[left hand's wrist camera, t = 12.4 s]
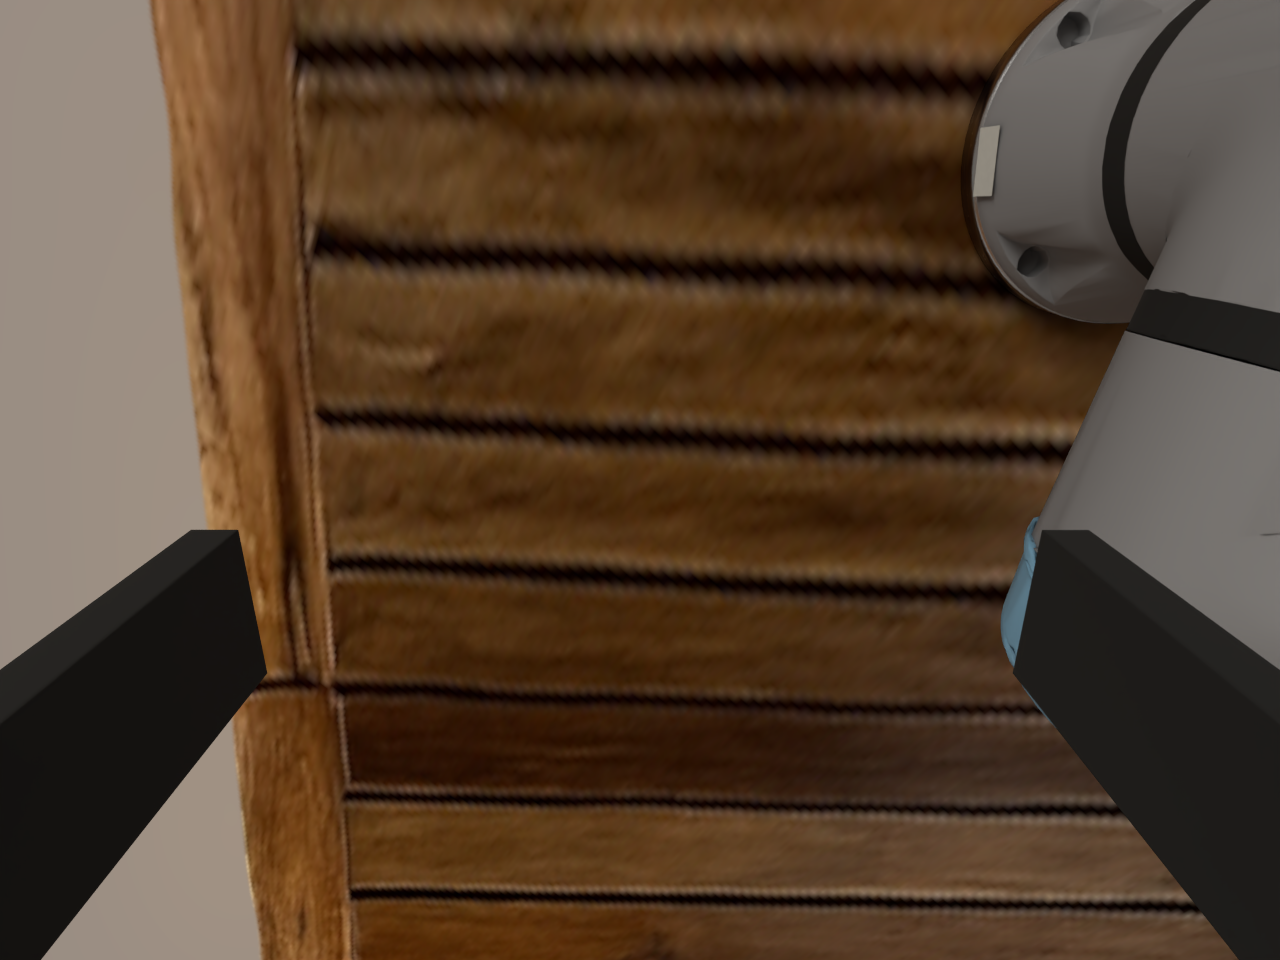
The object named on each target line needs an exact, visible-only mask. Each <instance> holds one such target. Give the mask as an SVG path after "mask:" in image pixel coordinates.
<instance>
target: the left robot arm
mask: <svg viewBox="0 0 1280 960" xmlns="http://www.w3.org/2000/svg"><path fill="white" fill-rule="evenodd" d="M961 195H962V205H963V210H964V216H965V221H966V224H967V227H968V231H969V234H970V237H971V239H972V241H973V244H974V246H975V248H976V250H977V252H978V254H979V256H980V257H981V259H982V261H983V263H984V264H985V265H986V267H987V268H988V270H989V271H990V272H991V274H992V275H993V276H994V277H995V278H996V279H997V280H998V281H999V282H1000V284H1001V285H1003V286H1004V287H1005V288H1006V289H1007V290H1008V291H1010V292H1011V293H1012V294H1013V295H1015V296H1016V297H1018V298H1019V299H1021V300H1022V301H1024V302H1026V303H1028V304H1030V305H1031V306H1033V307H1035V308H1038V309H1040V310H1043V311H1046V312H1048V313H1052V314H1055V315H1059V316H1063V317H1066V318H1070V319H1074V320H1078V321H1084V322H1090V323H1104V324H1112V323H1127V322H1130V323H1129V325H1128V327H1127V329H1126V330H1129V331H1131V332H1129V331H1125V332H1124V334H1123V336H1122V338H1121V341H1120V343H1119V345H1118V347H1117V349H1116V352H1115V354H1114V356H1113V358H1112V360H1111V362H1110V365H1109V367H1108V369H1107V371H1106V373H1105V375H1104V378H1103V380H1102V382H1101V384H1100V386H1099V388H1098V391H1097V393H1096V395H1095V397H1094V399H1093V402H1092V404H1091V406H1090V408H1089V410H1088V412H1087V415H1086V417H1085V419H1084V421H1083V423H1082V425H1081V428H1080V430H1079V432H1078V434H1077V436H1076V438H1075V441H1074V443H1073V445H1072V447H1071V449H1070V451H1069V454H1068V456H1067V458H1066V460H1065V462H1064V465H1063V467H1062V469H1061V471H1060V473H1059V475H1058V478H1057V480H1056V482H1055V484H1054V486H1053V488H1052V491H1051V493H1050V495H1049V497H1048V499H1047V501H1046V504H1045V506H1044V508H1043V510H1042V512H1041V515H1040V516H1039V517H1036V518H1034V519H1033V520H1032V522H1031V523H1030V525H1029V526H1028V528H1027V531H1026V534H1025V538H1024V553H1023V556H1022V558H1021V561H1020V563H1019V566H1018V569H1017V571H1016V574H1015V576H1014V579H1013V582H1012V584H1011V587H1010V589H1009V592H1008V595H1007V597H1006V600H1005V602H1004V605H1003V610H1002V614H1001V635H1002V641H1003V645H1004V647H1005V650H1006V653H1007V655H1008V658H1009V661H1010V663H1011V664H1012V666H1013V667H1014V670H1013V674H1014V675H1015V677H1016V678H1017V679H1018V680H1019V682H1020V683H1021V684H1022V686H1023V688H1024V689H1025V691H1026V692H1027V694H1028V695H1029V696H1030V698H1031V699H1032V701H1033V702H1034V703H1035V704H1036V706H1037V707H1038V708H1039V709H1040V711H1041V712H1042V713H1043V714H1044V715H1045V716H1046V718H1047V719H1048V720H1049V721H1050V722H1051V723H1052V724H1053V725H1054V726H1055V728H1056V729H1057V730H1058V731H1059V732H1060V734H1061V735H1062V736H1063V737H1064V739H1065V740H1066V741H1067V742H1068V744H1069V745H1070V746H1071V747H1072V749H1073V750H1074V751H1075V753H1076V754H1077V755H1078V756H1079V758H1080V759H1081V760H1082V761H1083V763H1084V764H1085V765H1086V766H1087V768H1088V769H1089V770H1090V772H1091V773H1092V774H1093V775H1094V777H1095V778H1096V779H1097V780H1098V782H1099V783H1100V784H1101V785H1102V787H1103V788H1104V789H1105V791H1106V792H1107V793H1108V794H1109V796H1110V797H1111V798H1112V799H1113V801H1114V802H1115V803H1116V804H1117V806H1118V807H1119V808H1120V810H1121V811H1122V812H1123V813H1124V815H1125V816H1126V817H1127V818H1128V820H1129V821H1130V822H1131V823H1132V825H1133V826H1134V827H1135V828H1136V830H1137V831H1138V832H1139V834H1140V835H1141V836H1142V837H1143V839H1144V840H1145V841H1146V842H1147V844H1148V845H1149V846H1150V847H1151V849H1152V850H1153V851H1154V853H1155V854H1156V855H1157V856H1158V858H1159V859H1160V860H1161V861H1162V863H1163V864H1164V865H1165V866H1166V868H1167V869H1168V870H1169V872H1170V873H1171V874H1172V875H1173V877H1174V878H1175V879H1176V880H1177V882H1178V883H1179V884H1180V885H1181V887H1182V888H1183V889H1184V891H1185V892H1186V893H1187V894H1188V896H1189V897H1190V898H1191V899H1192V901H1193V902H1194V903H1195V904H1196V906H1197V907H1198V908H1199V910H1200V911H1201V912H1202V913H1203V915H1204V916H1205V917H1206V918H1207V920H1208V921H1209V922H1210V923H1211V925H1212V926H1213V927H1214V929H1215V930H1216V931H1217V932H1218V934H1219V935H1220V936H1221V937H1222V939H1223V940H1224V941H1225V942H1226V944H1227V945H1228V946H1229V948H1230V949H1231V950H1232V951H1233V953H1234V954H1235V955H1236V956H1237V958H1238V959H1239V960H1280V0H1059V1H1057V2H1056V3H1055V4H1053V5H1052V6H1051V7H1049V8H1048V9H1047V10H1045V11H1044V12H1043V13H1042V14H1041V15H1040V16H1039V17H1038V18H1036V19H1035V20H1034V21H1033V22H1032V23H1031V24H1030V25H1029V26H1028V27H1027V28H1026V29H1025V30H1024V31H1023V32H1022V33H1021V34H1020V35H1019V37H1018V38H1017V39H1016V40H1015V41H1014V43H1013V44H1012V45H1011V46H1010V48H1009V49H1008V50H1007V51H1006V53H1005V54H1004V55H1003V57H1002V58H1001V60H1000V61H999V63H998V64H997V66H996V67H995V69H994V70H993V72H992V74H991V76H990V77H989V79H988V81H987V83H986V84H985V86H984V89H983V91H982V93H981V95H980V97H979V99H978V101H977V104H976V107H975V109H974V112H973V115H972V118H971V120H970V124H969V128H968V131H967V135H966V139H965V144H964V150H963V155H962V166H961ZM1170 341H1171V342H1170ZM1174 342H1175V343H1174ZM1178 343H1179V344H1178ZM1182 344H1183V345H1182ZM1186 345H1187V346H1186ZM266 674H267V670H266V665H265V660H264V655H263V650H262V645H261V640H260V635H259V630H258V625H257V621H256V616H255V611H254V606H253V601H252V596H251V591H250V586H249V581H248V576H247V571H246V566H245V561H244V557H243V552H242V547H241V542H240V537H239V532H238V530H190V531H189V532H188V533H186V534H185V535H184V536H182V537H181V538H179V539H178V540H177V541H175V542H174V543H173V544H171V545H170V546H169V547H167V548H166V549H164V550H163V551H162V552H160V553H159V554H158V555H156V556H155V557H154V558H152V559H151V560H149V561H148V562H147V563H145V564H144V565H143V566H141V567H140V568H138V569H137V570H136V571H134V572H133V573H132V574H130V575H129V576H128V577H126V578H125V579H124V580H122V581H121V582H119V583H118V584H117V585H115V586H114V587H113V588H111V589H110V590H109V591H107V592H106V593H104V594H103V595H102V596H100V597H99V598H98V599H96V600H95V601H93V602H92V603H91V604H89V605H88V606H87V607H85V608H84V609H83V610H81V611H80V612H78V613H77V614H76V615H74V616H73V617H72V618H70V619H69V620H68V621H66V622H65V623H63V624H62V625H61V626H59V627H58V628H57V629H55V630H54V631H53V632H51V633H50V634H48V635H47V636H46V637H44V638H43V639H42V640H40V641H39V642H38V643H36V644H35V645H33V646H32V647H31V648H29V649H28V650H27V651H25V652H24V653H22V654H21V655H20V656H18V657H17V658H16V659H14V660H13V661H12V662H10V663H9V664H8V665H6V666H5V667H3V668H2V669H1V670H0V960H41V959H42V958H43V956H44V955H45V954H46V953H47V951H48V950H49V949H50V947H51V946H52V945H53V944H54V942H55V941H56V940H57V939H58V937H59V936H60V935H61V934H62V932H63V931H64V930H65V929H66V927H67V926H68V925H69V923H70V922H71V921H72V920H73V918H74V917H75V916H76V915H77V913H78V912H79V911H80V909H81V908H82V907H83V906H84V904H85V903H86V902H87V901H88V899H89V898H90V897H91V896H92V894H93V893H94V892H95V891H96V889H97V888H98V887H99V885H100V884H101V883H102V882H103V880H104V879H105V878H106V877H107V875H108V874H109V873H110V872H111V870H112V869H113V868H114V866H115V865H116V864H117V863H118V861H119V860H120V859H121V858H122V856H123V855H124V854H125V852H126V851H127V850H128V849H129V847H130V846H131V845H132V844H133V842H134V841H135V840H136V839H137V837H138V836H139V835H140V834H141V832H142V831H143V830H144V828H145V827H146V826H147V825H148V823H149V822H150V821H151V820H152V818H153V817H154V816H155V815H156V813H157V812H158V811H159V810H160V808H161V807H162V806H163V804H164V803H165V802H166V801H167V799H168V798H169V797H170V796H171V794H172V793H173V792H174V790H175V789H176V788H177V787H178V785H179V784H180V783H181V782H182V780H183V779H184V778H185V777H186V775H187V774H188V773H189V772H190V770H191V769H192V768H193V766H194V765H195V764H196V763H197V761H198V760H199V759H200V757H201V756H202V755H203V754H204V752H205V751H206V750H207V749H208V747H209V746H210V745H211V744H212V742H213V741H214V740H215V739H216V737H217V736H218V735H219V734H220V732H221V731H222V730H223V728H224V727H225V726H226V725H227V723H228V722H229V721H230V720H231V718H232V717H233V716H234V715H235V713H236V712H237V711H238V709H239V708H240V707H241V706H242V704H243V703H244V702H245V701H246V699H247V698H248V697H249V696H250V694H251V693H252V692H253V690H254V689H255V688H256V687H257V685H258V684H259V683H260V682H261V680H262V679H263V678H264V677H265V675H266Z"/></svg>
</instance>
